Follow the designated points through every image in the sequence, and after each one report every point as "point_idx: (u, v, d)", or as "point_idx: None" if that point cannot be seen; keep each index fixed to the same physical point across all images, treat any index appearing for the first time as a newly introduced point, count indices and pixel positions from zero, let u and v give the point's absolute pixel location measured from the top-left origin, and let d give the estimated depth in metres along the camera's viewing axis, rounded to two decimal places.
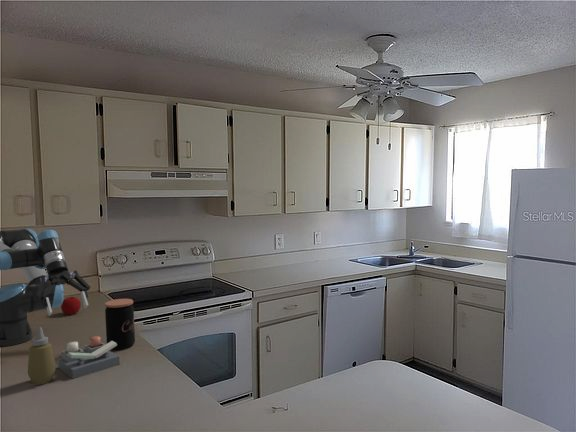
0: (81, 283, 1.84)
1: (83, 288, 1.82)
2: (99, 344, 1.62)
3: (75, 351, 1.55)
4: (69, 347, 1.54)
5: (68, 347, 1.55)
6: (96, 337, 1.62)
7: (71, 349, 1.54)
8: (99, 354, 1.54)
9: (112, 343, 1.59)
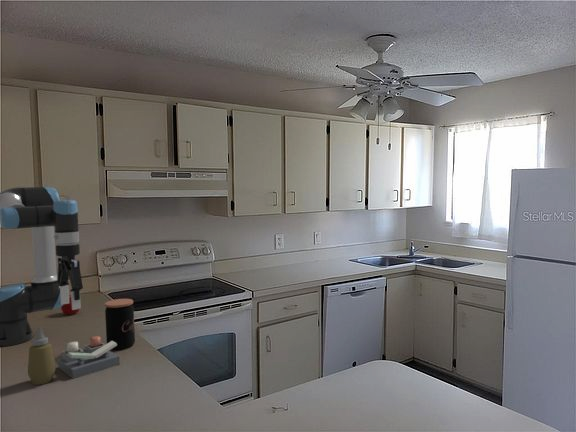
0: None
1: (72, 287, 1.50)
2: (99, 344, 1.62)
3: (75, 351, 1.55)
4: (69, 347, 1.54)
5: (68, 347, 1.55)
6: (96, 337, 1.62)
7: (71, 349, 1.54)
8: (99, 354, 1.54)
9: (112, 343, 1.59)
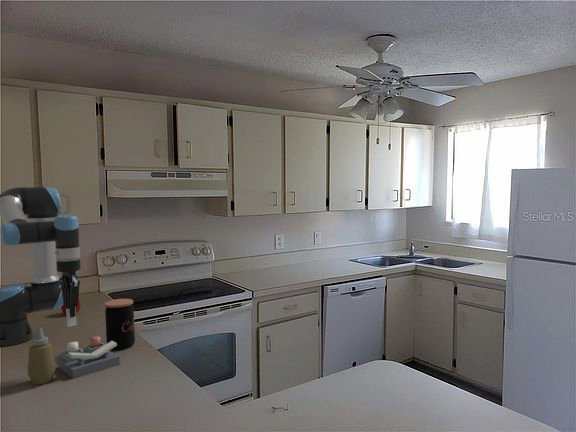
0: None
1: (68, 305, 1.53)
2: (99, 344, 1.62)
3: (75, 351, 1.55)
4: (69, 347, 1.54)
5: (68, 347, 1.55)
6: (96, 337, 1.62)
7: (71, 349, 1.54)
8: (99, 354, 1.54)
9: (112, 343, 1.59)
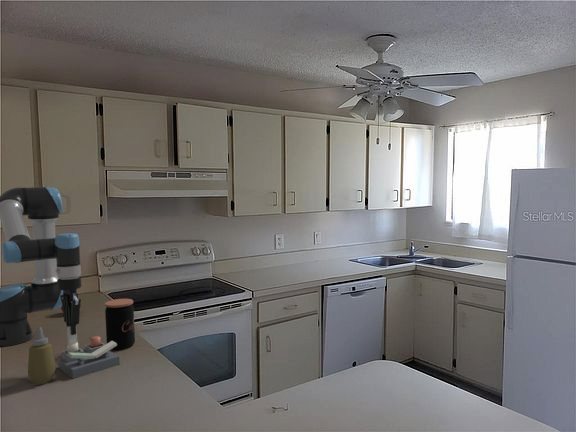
0: None
1: (69, 322, 1.54)
2: (99, 344, 1.62)
3: (75, 351, 1.55)
4: (69, 347, 1.54)
5: (68, 347, 1.55)
6: (96, 337, 1.62)
7: (71, 349, 1.54)
8: (99, 354, 1.54)
9: (112, 343, 1.59)
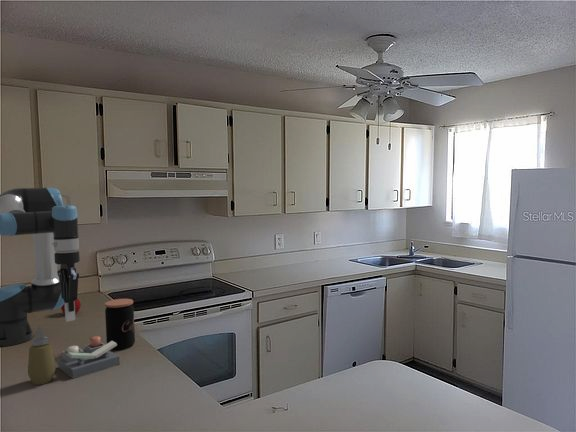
0: None
1: (66, 298, 1.47)
2: (99, 344, 1.62)
3: None
4: (69, 351, 1.55)
5: (68, 351, 1.55)
6: (96, 337, 1.62)
7: None
8: (99, 354, 1.54)
9: (112, 343, 1.59)
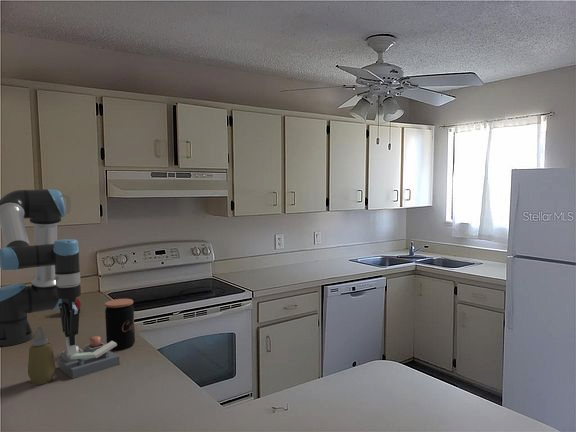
0: None
1: (68, 333, 1.47)
2: (99, 344, 1.62)
3: None
4: None
5: None
6: (96, 337, 1.62)
7: None
8: (99, 354, 1.54)
9: (112, 343, 1.59)
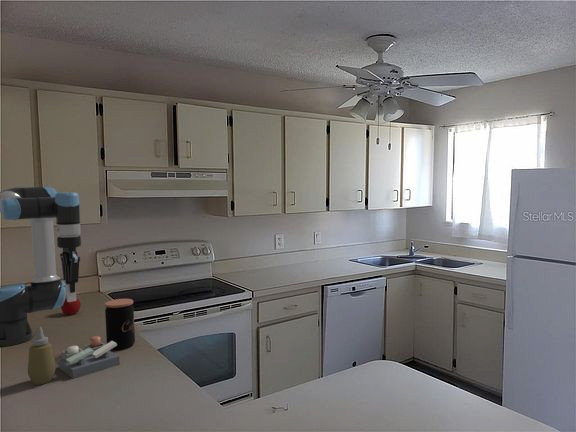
0: None
1: (68, 280, 1.55)
2: (99, 344, 1.62)
3: None
4: (69, 351, 1.55)
5: (68, 351, 1.55)
6: (96, 337, 1.62)
7: (71, 353, 1.55)
8: (99, 354, 1.54)
9: (112, 343, 1.59)
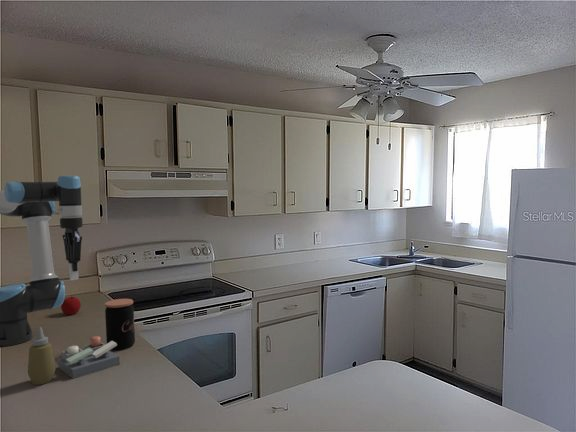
0: None
1: (71, 259, 1.63)
2: (99, 344, 1.62)
3: None
4: (69, 351, 1.55)
5: (68, 351, 1.55)
6: (96, 337, 1.62)
7: (71, 353, 1.55)
8: (99, 354, 1.54)
9: (112, 343, 1.59)
